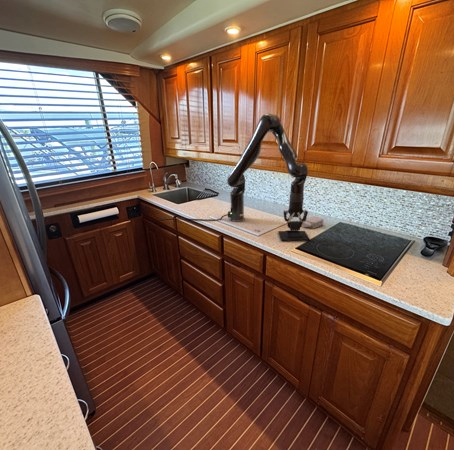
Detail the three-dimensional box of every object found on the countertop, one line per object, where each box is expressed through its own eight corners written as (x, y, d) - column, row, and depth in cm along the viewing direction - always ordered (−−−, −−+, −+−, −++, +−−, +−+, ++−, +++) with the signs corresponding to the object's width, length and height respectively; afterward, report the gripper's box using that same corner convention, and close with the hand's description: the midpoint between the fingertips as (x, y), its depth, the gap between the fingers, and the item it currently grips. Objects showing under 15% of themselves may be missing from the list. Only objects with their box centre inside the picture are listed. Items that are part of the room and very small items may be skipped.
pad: (290, 230, 137) (290, 224, 135) (288, 226, 142) (289, 221, 140) (300, 230, 136) (300, 224, 135) (298, 226, 141) (298, 221, 140)
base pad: (281, 241, 136) (281, 237, 135) (278, 232, 147) (278, 229, 146) (309, 241, 135) (310, 237, 134) (304, 232, 146) (304, 229, 146)
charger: (297, 227, 155) (311, 221, 163) (308, 231, 148) (322, 225, 156) (297, 220, 153) (311, 215, 161) (309, 224, 146) (323, 218, 154)
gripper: (307, 197, 136) (305, 225, 142) (282, 198, 136) (281, 225, 143) (311, 201, 129) (308, 230, 135) (284, 201, 129) (282, 230, 136)
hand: (294, 227), depth 139 cm, fingers closed on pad, 5 cm apart
